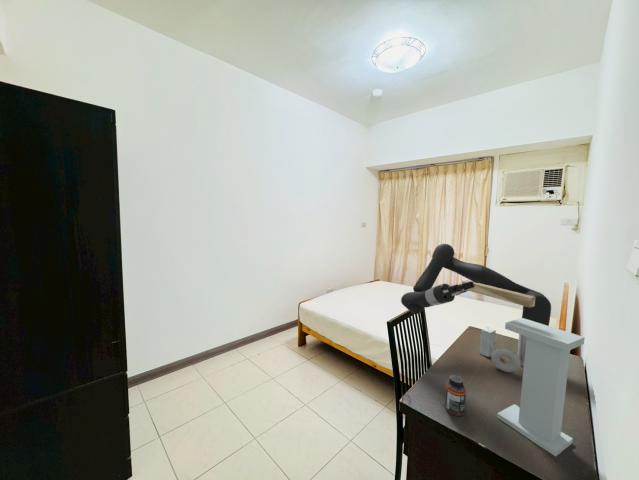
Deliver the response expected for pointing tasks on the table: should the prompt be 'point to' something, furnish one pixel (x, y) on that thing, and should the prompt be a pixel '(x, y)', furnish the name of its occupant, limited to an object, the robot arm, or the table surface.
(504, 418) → the stand
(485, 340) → the skincare box
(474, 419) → the table surface
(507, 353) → the donut
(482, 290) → the beige block
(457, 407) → the supplement bottle
